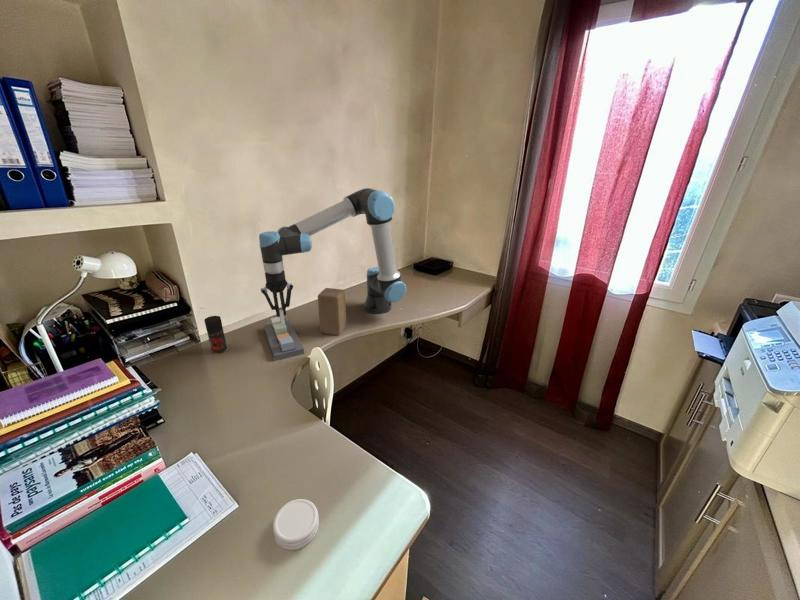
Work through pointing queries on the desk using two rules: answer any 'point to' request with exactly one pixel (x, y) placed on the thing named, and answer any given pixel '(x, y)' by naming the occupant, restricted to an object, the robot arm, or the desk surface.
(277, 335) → the key terracotta
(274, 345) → the keypad base
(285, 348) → the key slate
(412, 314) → the desk surface
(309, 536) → the white round container
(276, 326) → the key sage
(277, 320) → the key grey
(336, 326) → the wooden block
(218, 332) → the deodorant
